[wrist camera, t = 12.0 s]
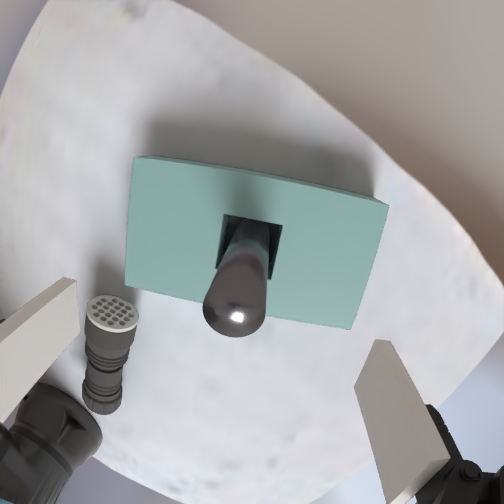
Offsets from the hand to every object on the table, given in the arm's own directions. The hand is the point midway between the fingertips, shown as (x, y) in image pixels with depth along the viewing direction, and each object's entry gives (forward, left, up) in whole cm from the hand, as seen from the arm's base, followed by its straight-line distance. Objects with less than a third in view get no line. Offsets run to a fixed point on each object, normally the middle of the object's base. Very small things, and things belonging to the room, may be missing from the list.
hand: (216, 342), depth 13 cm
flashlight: (-13, -16, -17) cm, 27 cm away
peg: (0, 0, -17) cm, 17 cm away
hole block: (0, 0, -17) cm, 16 cm away
